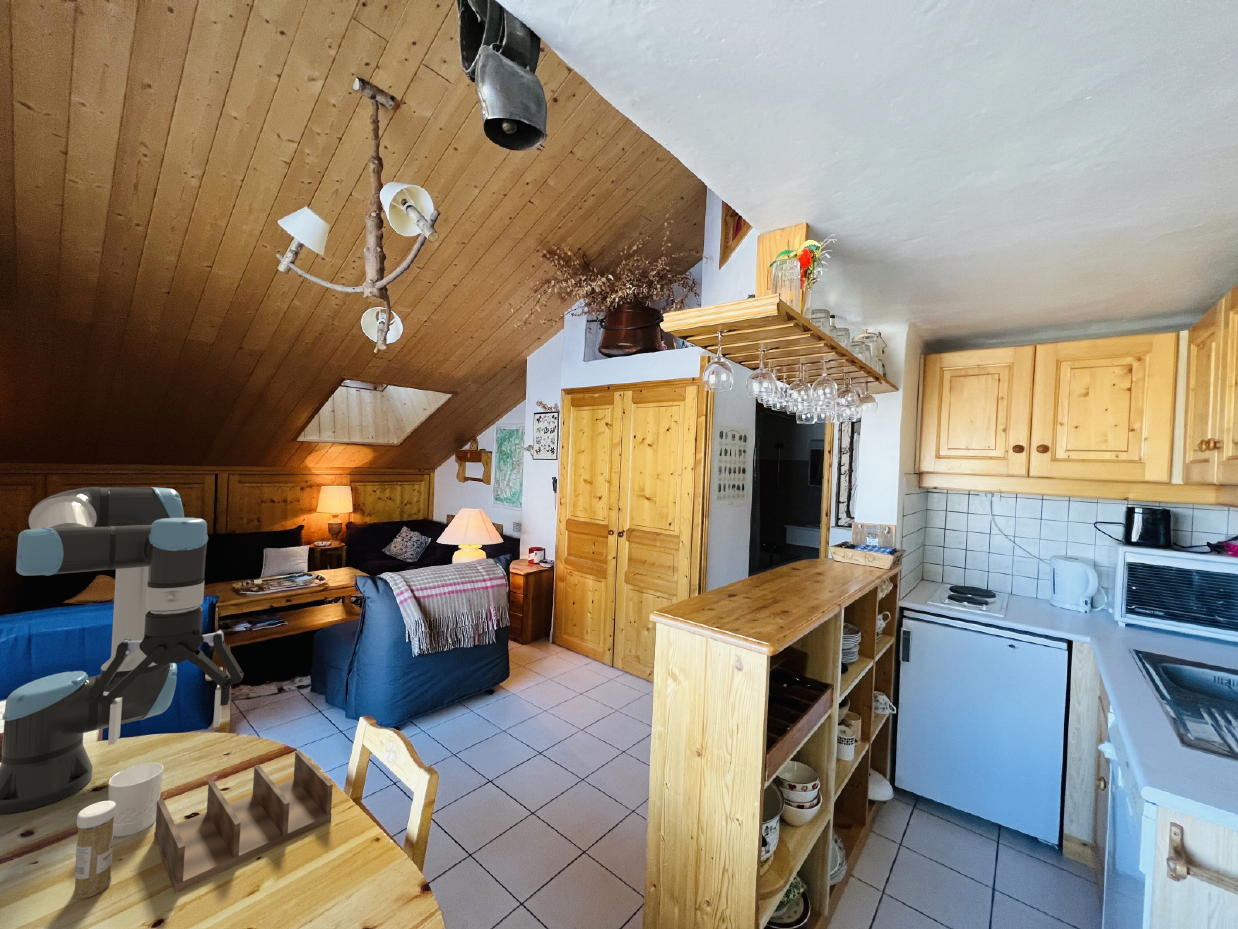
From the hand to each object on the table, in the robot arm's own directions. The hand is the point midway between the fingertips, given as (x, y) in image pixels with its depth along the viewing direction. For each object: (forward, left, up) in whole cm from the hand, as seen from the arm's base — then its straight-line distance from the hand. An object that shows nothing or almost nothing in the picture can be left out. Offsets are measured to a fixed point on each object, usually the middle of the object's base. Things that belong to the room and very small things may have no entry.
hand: (167, 732), depth 88 cm
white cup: (-21, -1, -26) cm, 33 cm away
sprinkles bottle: (-6, -8, -26) cm, 27 cm away
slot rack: (-4, +13, -26) cm, 29 cm away
